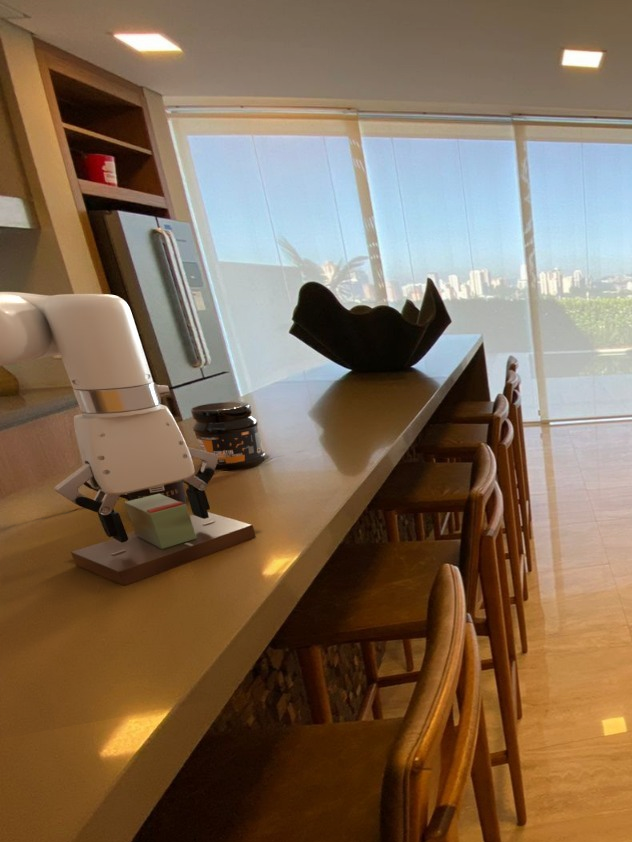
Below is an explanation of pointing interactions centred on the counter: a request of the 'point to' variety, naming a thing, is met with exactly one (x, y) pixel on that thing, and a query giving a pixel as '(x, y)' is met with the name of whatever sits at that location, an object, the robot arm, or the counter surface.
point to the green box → (160, 520)
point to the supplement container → (229, 434)
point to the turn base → (160, 550)
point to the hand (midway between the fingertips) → (162, 527)
